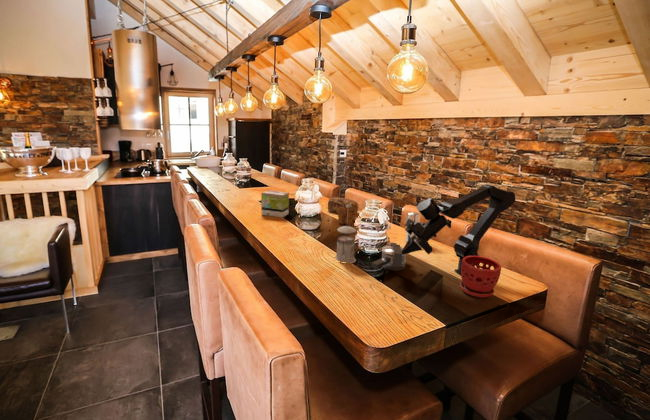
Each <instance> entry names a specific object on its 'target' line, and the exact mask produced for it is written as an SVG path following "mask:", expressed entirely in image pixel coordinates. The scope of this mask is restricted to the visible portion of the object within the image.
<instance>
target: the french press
mask: <svg viewBox="0 0 650 420" xmlns="http://www.w3.org/2000/svg"><path fill="white" fill-rule="evenodd" d="M346 208H350V205H346ZM347 220H348V210H347ZM337 232H338V233H341V234H345V235H342V236H339V237H337V241H336V256H335V257H334V258H335V259H336V260H338V261H340V262H346V263H351V264H354V263H356V261H357V259H356V258H355V249H356V247H355V246H356V242H355V238H354V237H352V236H348V235H349V234H353V233H356V232H357V230H356V229H355V228H353V226H350V225H343V226H340V227H338V228H337Z"/></svg>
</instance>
